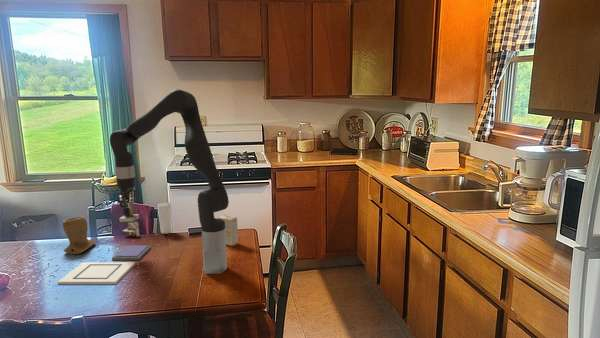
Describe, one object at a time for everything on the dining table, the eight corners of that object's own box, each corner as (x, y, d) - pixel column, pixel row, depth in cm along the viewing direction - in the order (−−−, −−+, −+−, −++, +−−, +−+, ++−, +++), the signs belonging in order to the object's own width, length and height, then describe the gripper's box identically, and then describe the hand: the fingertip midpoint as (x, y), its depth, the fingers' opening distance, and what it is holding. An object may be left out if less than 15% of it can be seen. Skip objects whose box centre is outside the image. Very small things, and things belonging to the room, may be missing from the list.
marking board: (115, 284, 157) (115, 281, 157) (57, 284, 158) (57, 281, 157) (135, 264, 175) (134, 261, 175) (83, 264, 175) (82, 261, 175)
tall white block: (159, 235, 210) (156, 206, 207) (159, 231, 217) (157, 202, 214) (173, 233, 212) (171, 205, 209) (173, 229, 218) (171, 201, 216)
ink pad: (138, 260, 179) (138, 256, 179) (112, 260, 180) (111, 256, 179) (150, 248, 193) (150, 244, 193) (126, 248, 193) (125, 244, 193)
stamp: (133, 222, 181) (131, 204, 179) (119, 222, 181) (118, 204, 179) (139, 218, 187) (137, 201, 185) (125, 218, 187) (124, 201, 185)
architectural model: (135, 238, 207) (134, 224, 206) (123, 237, 209) (121, 223, 207) (139, 236, 210) (138, 222, 209) (127, 235, 212) (126, 221, 210)
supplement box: (238, 243, 198) (237, 217, 195) (232, 246, 194) (230, 219, 191) (225, 240, 202) (224, 214, 200) (218, 243, 198) (217, 217, 196)
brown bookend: (74, 243, 200) (70, 213, 197) (99, 243, 200) (95, 213, 197) (56, 256, 185) (52, 223, 182) (83, 255, 185) (79, 223, 182)
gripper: (127, 179, 173) (130, 219, 176) (140, 173, 187) (143, 210, 190) (109, 179, 173) (113, 219, 176) (124, 173, 187) (127, 210, 190)
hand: (129, 214), depth 183 cm, fingers closed on stamp, 3 cm apart
